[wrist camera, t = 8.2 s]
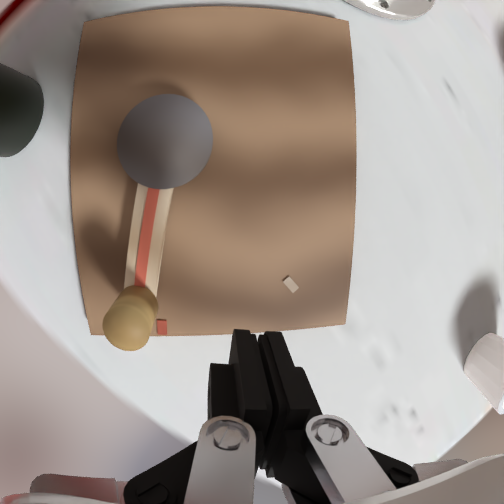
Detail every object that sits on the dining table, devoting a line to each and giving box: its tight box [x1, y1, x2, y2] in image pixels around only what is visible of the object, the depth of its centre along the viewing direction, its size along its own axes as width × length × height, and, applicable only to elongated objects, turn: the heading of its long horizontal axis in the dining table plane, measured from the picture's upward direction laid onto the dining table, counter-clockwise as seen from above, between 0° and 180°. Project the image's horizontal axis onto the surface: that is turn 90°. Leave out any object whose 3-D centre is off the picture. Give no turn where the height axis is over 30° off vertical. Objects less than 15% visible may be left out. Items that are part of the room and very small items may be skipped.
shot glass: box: [464, 333, 504, 414], centre depth 22 cm, size 7×7×7 cm
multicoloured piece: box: [102, 94, 213, 351], centre depth 14 cm, size 13×5×4 cm, turn 167°
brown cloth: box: [70, 6, 356, 336], centre depth 17 cm, size 20×17×1 cm
